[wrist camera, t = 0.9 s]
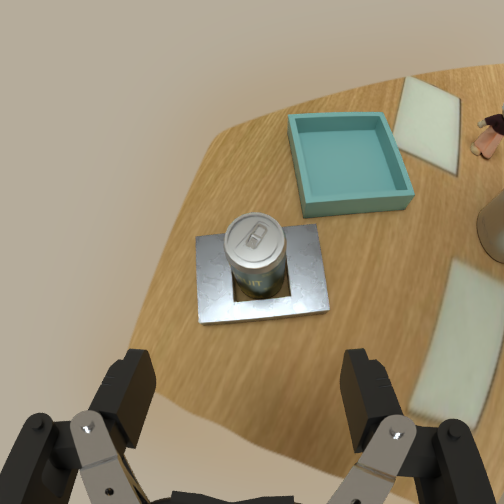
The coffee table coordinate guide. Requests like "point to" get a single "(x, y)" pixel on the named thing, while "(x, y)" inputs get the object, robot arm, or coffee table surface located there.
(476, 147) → the grandmother figurine
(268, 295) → the beer can
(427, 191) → the coffee table surface
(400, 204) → the tray
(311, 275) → the gray rectangular block
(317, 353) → the coffee table surface
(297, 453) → the coffee table surface
